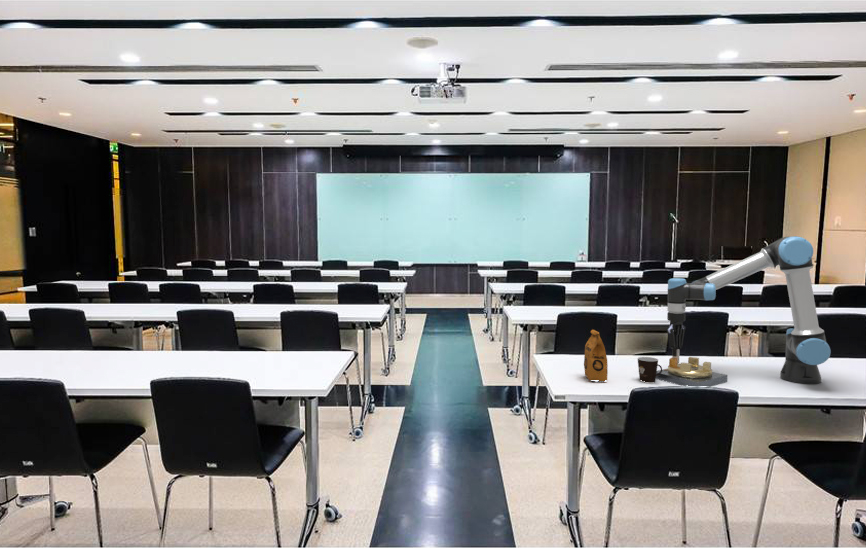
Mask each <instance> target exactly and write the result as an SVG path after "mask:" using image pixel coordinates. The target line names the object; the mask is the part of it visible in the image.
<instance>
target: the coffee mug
mask: <svg viewBox="0 0 866 548" xmlns="http://www.w3.org/2000/svg"><path fill="white" fill-rule="evenodd" d="M637 367H638V374H639V377H638V378H639V381H640V380H642V381H645V382H654V383H655V382H656V380H657V379H656V376H657V375H659V374H660V373H661V372H662V370H663V367H662V365H660V364H659V359H658V358H655V357H651V356H650V357H649V356H640V357H637ZM658 367H659V368H660V370H661V371H660V373H658V374H656V372H657V371H658ZM645 382H644V383H645Z"/></svg>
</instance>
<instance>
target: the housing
mask: <svg viewBox="0 0 866 548" xmlns="http://www.w3.org/2000/svg"><path fill="white" fill-rule="evenodd" d="M660 371H661V369H659V370H658V369H657V372H656V374H658V373H660ZM658 379H659V381H662V380H664V381H663V382H666V381H667V383H670V382H671V384H674V383H675V385H679V386H682V385H688V386H710V387H713V386H716V385H720V384H723V383H727V382H728V379H729V378H728V374H723V373H721V372H720V373H719V372H715V371H712V376H711V377H706V378H690V377H682V376H677V375H674V374H671V373H669V372H668V367H667V368H664V369H663V368H662V372H661V373H660V374H659V375H657V376H656V379H655V380H658Z"/></svg>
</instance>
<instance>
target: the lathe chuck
mask: <svg viewBox="0 0 866 548" xmlns="http://www.w3.org/2000/svg"><path fill="white" fill-rule="evenodd" d="M687 359H688V361H687V362H680V363H678V364H677V358H672V357H670V358H669V362H668V363H669V365H668V366H667V368H668V372H669V373H671V374H674V375H677V376H682V377H690V378H706V377H711V376H712V372H713V369H712V362H710V361H704V362H703V363H702V365H701V364H700V357H695V356H689V357H688V358H687Z"/></svg>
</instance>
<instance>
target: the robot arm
mask: <svg viewBox="0 0 866 548" xmlns="http://www.w3.org/2000/svg"><path fill="white" fill-rule="evenodd" d="M760 249H761V250H760V251H759V252H757V253H754V254H752V255H749V256H748V257H746V258H744V259H741V260H739V261H736V262H735V263H733V264H730V265H729V266H727V267H723V268H722V269H719V270H717V271H715V272H713V273H711V274H708V275H706V276H704V277H702V278H699V279H697V280H696V279H695V280H693V281H692V282H687V279H685V278H682V277H681V278H678V277H677V278H676V277H674V278H669V279H668V280H667V321H669V328H666V334H667V339H668V348H669V349H671V350H672V351H671V353H672V357H671V358H677V364H680V350H682V349H683V343H684V338H685V331H686V328H687V326H686V325H684V322H685V321H686V308H687V306H686V300H689V301H690V300H693V301H695V300H697V301H698V300H700V301H714V300H715V299H716V297H717V295H716V294H717V293H716V292H717V291H716V290H719V289H721V288H724V287H727V286H728V285H730V284H733V283H736V282H737V281H739V280H742V279H745V278H746V277H750V276H751V275H754V274H755V273H757V272H760V271H762V270H763V271H764V269H768V268H775V267H779V271H781V272H782V273H784V274H785V276H784V277H785V282H786V286H787V292H788V297H789V298H788V299H789V303H790V309H791V314H792V315H791V316H792V321H793V328H787V329H786V333H785V337H786V338H785V360H784V363H783V366H782V368H781V371H780V374H779V375H780V376H779V377H780V379H781V380H784V381H788V382H791V383H797V384H806V385H816V384H820V383H822V376H821V372H820V370H819V367H818V366H819V365H821V364H824V363H826V362H827V361H828V360H829V358H830V357H831V352H832V351H831V347H830V345H829V344H828V342H827V338H826V335H825V330H824V329H822V328H821V327H820V326H819V320H818V314H817V309H816V308H817V307H816V302H815V297H814V290H813V283H812V279H811V278H812V277H811V273H810V271H811V269H812V268H813V267H814V264H813V256H814V248H813V245H812V243H811V242H810V241H809V240H807V239H806V238H804V237H802V236H801V237H800V236H784V237H781V238H778V239H777V240H775V241H774V242H772V243H770V244H769V245H766V246H764V247H763V248H760Z"/></svg>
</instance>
